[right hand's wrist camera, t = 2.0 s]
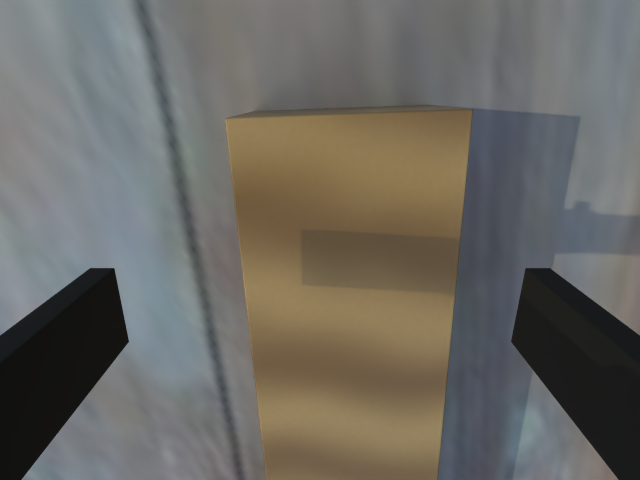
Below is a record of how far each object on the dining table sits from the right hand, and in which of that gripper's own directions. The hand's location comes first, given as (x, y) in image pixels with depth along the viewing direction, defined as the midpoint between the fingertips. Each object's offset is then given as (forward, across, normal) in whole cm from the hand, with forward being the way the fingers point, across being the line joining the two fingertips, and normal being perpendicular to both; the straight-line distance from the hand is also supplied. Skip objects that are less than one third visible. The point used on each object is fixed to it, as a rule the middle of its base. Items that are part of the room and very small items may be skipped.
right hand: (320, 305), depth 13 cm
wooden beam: (+12, +2, -34) cm, 36 cm away
